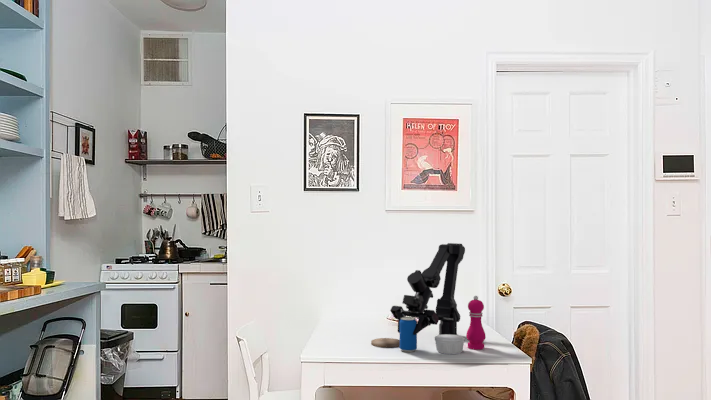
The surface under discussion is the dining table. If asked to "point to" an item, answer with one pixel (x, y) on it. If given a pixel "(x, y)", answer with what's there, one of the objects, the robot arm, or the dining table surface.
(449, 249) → the robot arm
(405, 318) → the beverage can
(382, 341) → the walnut coaster
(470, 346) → the pepper mill
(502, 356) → the dining table surface
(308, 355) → the dining table surface
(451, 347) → the ramekin
